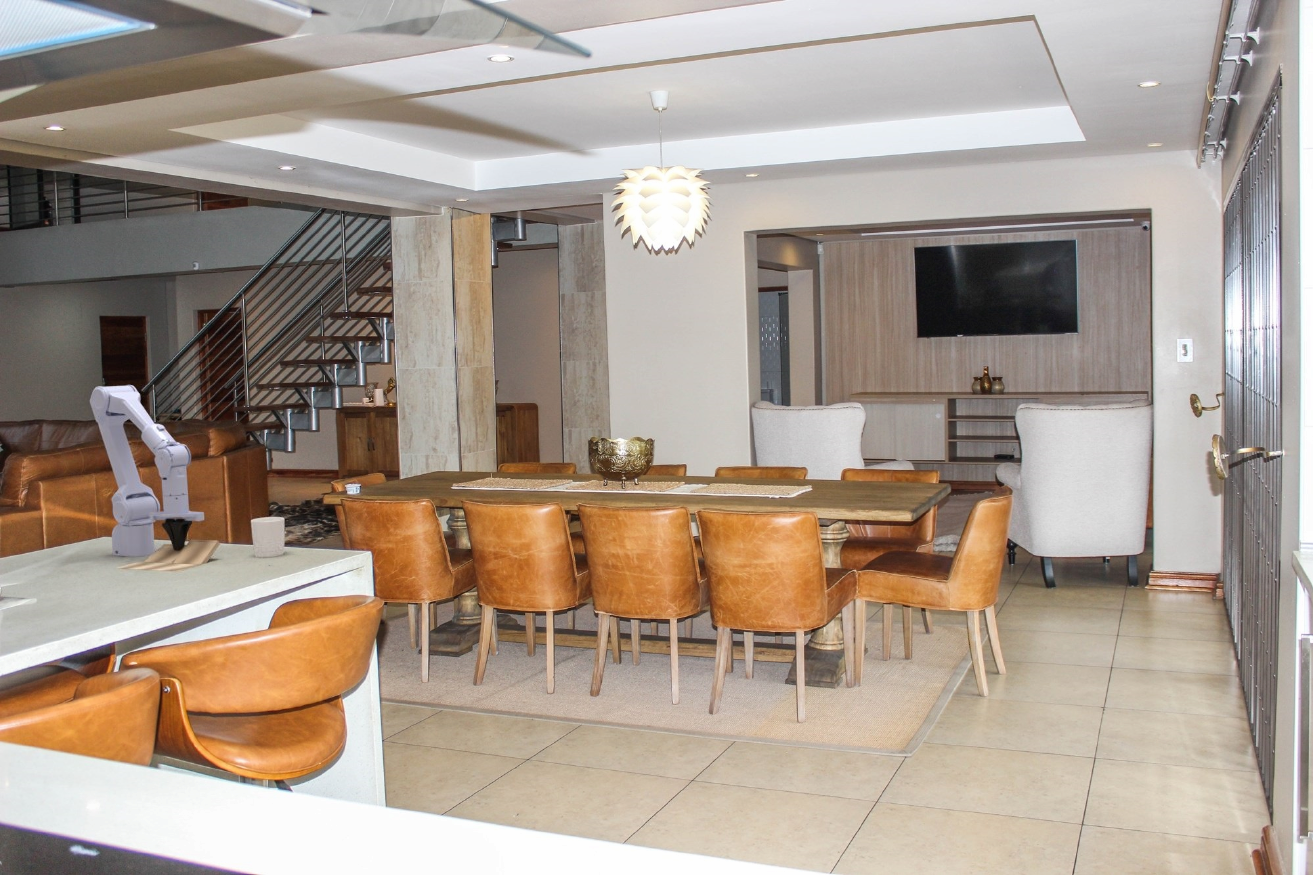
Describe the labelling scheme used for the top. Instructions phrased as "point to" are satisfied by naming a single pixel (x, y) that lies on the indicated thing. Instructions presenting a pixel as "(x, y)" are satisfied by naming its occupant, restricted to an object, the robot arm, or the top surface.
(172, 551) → the plank
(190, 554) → the plank
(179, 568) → the floor board
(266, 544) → the white cup
